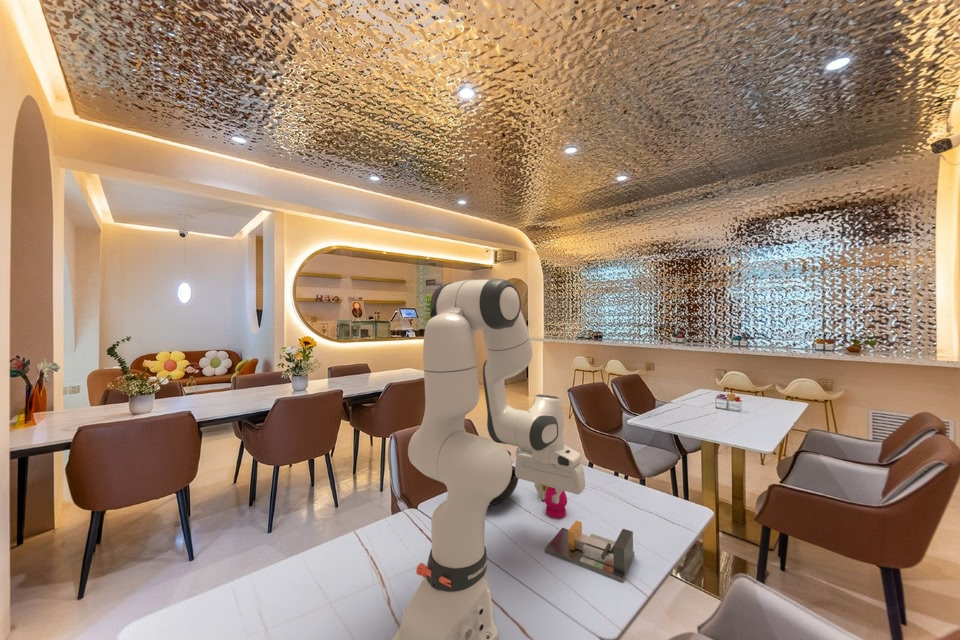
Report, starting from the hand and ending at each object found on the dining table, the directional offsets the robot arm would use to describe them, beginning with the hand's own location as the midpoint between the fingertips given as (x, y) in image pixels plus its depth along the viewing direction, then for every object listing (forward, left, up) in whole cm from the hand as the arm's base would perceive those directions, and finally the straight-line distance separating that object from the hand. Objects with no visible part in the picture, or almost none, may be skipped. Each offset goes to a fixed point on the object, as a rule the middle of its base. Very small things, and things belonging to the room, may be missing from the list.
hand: (548, 500), depth 103 cm
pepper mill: (+14, +4, -11) cm, 18 cm away
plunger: (-2, -12, -10) cm, 16 cm away
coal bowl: (+9, +26, -11) cm, 30 cm away
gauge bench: (0, -11, -11) cm, 16 cm away
